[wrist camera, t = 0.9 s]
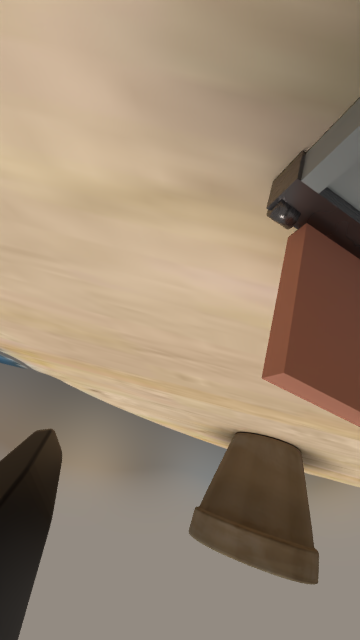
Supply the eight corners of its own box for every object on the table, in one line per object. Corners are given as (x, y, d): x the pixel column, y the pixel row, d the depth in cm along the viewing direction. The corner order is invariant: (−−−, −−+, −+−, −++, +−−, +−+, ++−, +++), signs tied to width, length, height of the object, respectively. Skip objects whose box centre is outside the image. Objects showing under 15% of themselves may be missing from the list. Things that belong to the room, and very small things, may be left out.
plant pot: (301, 464, 79) (290, 565, 69) (209, 434, 82) (186, 526, 72) (350, 455, 57) (344, 602, 47) (221, 415, 60) (190, 544, 50)
